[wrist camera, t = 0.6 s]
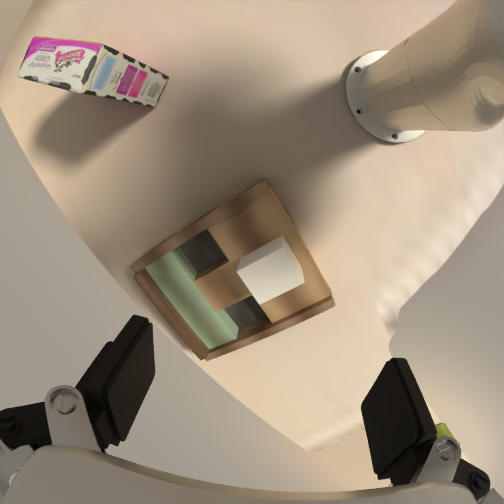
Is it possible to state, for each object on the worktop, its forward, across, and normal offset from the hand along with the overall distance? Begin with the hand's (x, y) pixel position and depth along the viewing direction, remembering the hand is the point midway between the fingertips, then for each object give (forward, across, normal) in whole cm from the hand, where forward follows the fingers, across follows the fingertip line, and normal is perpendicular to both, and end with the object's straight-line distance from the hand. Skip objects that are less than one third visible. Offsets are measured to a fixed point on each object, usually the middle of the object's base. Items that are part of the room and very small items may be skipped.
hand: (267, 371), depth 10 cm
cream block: (+26, -1, +7) cm, 26 cm away
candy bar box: (+29, +22, -14) cm, 39 cm away
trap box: (+28, +3, +10) cm, 30 cm away
